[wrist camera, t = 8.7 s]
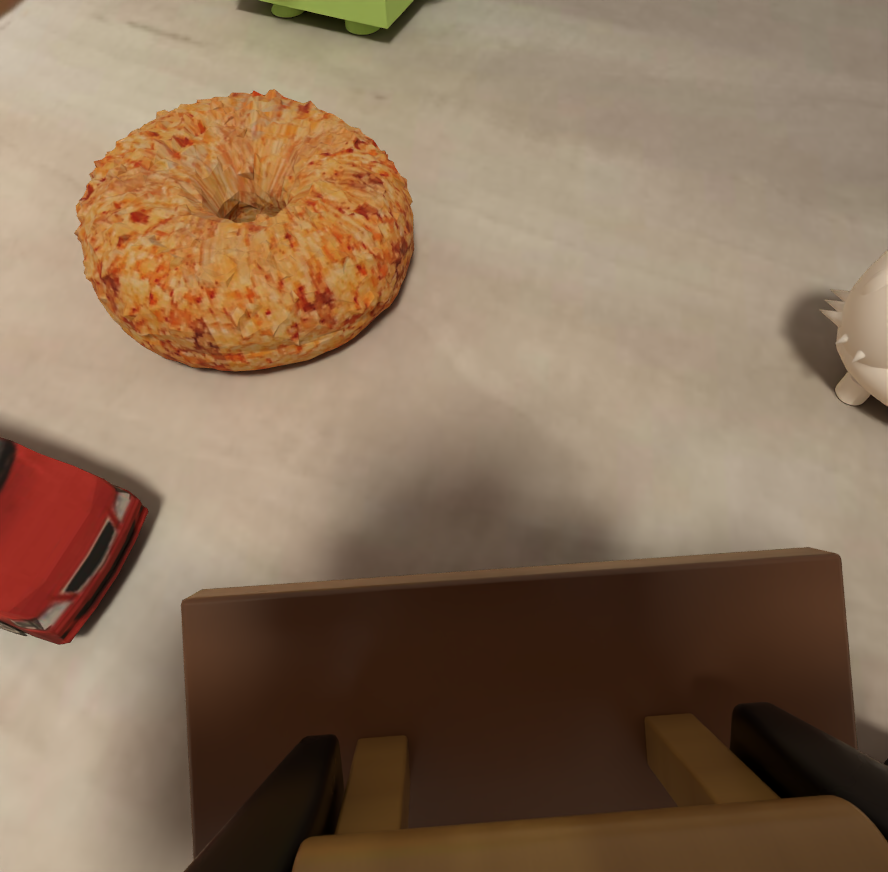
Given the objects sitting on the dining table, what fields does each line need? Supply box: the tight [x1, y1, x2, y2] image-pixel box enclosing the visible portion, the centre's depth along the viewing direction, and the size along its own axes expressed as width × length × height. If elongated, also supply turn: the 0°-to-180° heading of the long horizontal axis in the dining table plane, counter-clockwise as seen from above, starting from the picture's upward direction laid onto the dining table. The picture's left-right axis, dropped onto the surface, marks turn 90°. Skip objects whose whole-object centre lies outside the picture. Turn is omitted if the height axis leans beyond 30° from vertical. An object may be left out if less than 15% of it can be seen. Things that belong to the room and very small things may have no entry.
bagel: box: [75, 89, 414, 371], centre depth 26 cm, size 13×14×5 cm
